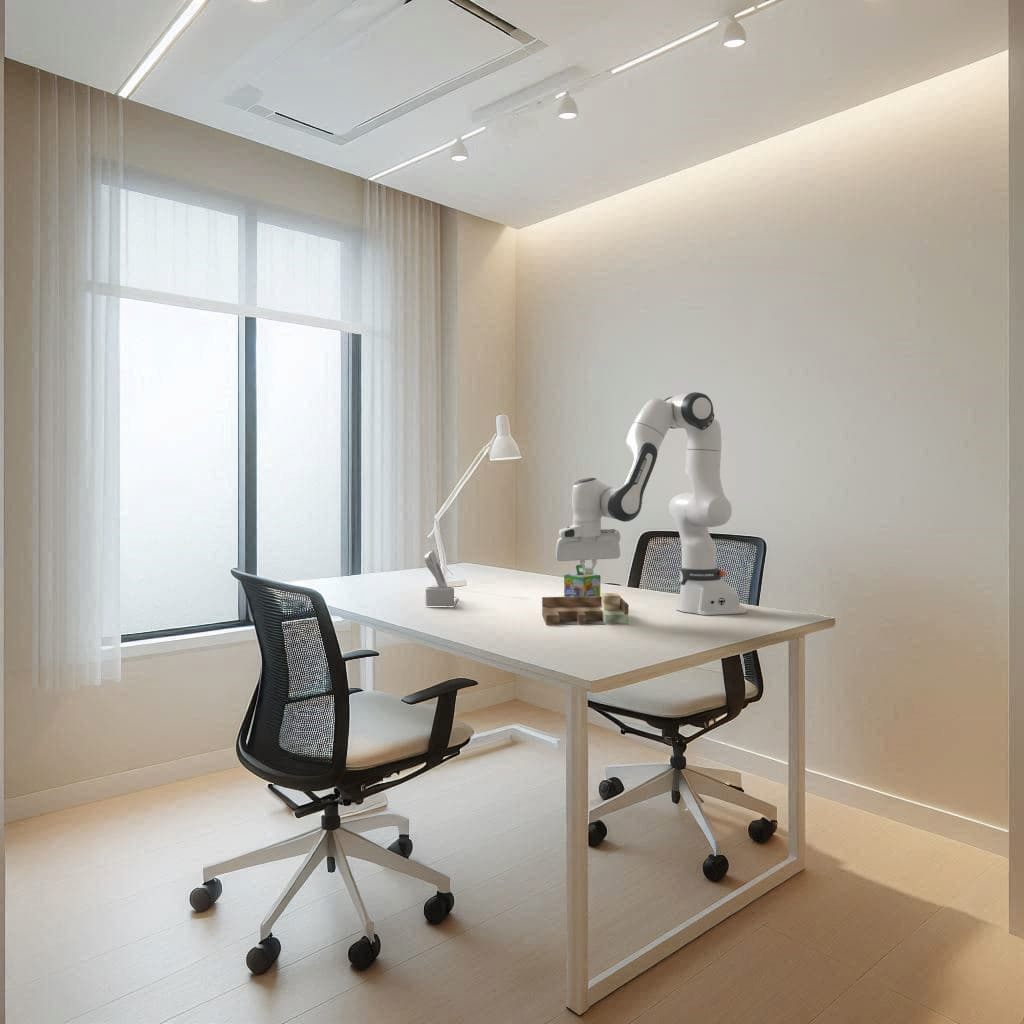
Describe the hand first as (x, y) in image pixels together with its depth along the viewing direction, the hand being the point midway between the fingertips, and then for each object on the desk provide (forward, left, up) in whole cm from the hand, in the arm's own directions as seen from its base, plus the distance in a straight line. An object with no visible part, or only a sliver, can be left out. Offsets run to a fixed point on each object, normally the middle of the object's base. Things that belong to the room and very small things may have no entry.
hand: (588, 573), depth 243 cm
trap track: (+2, +3, -14) cm, 14 cm away
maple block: (-7, 0, -11) cm, 13 cm away
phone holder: (+48, -29, -14) cm, 58 cm away
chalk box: (0, -16, -14) cm, 22 cm away
